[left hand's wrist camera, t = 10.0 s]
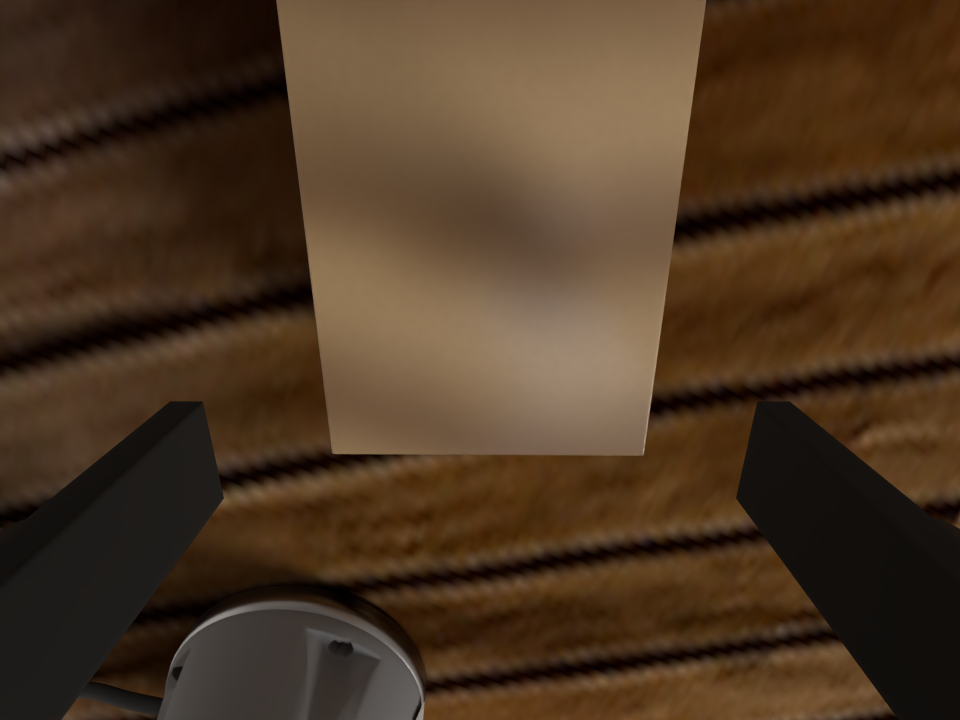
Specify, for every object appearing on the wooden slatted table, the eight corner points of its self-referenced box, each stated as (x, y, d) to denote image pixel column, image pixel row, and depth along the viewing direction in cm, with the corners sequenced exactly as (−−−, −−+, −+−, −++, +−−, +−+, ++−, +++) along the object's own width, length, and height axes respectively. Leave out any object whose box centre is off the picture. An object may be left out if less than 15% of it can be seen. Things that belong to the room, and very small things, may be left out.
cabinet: (342, -44, 19) (255, -158, 12) (636, -45, 19) (729, -161, 12) (375, 366, 25) (331, 454, 18) (598, 367, 25) (644, 456, 18)
